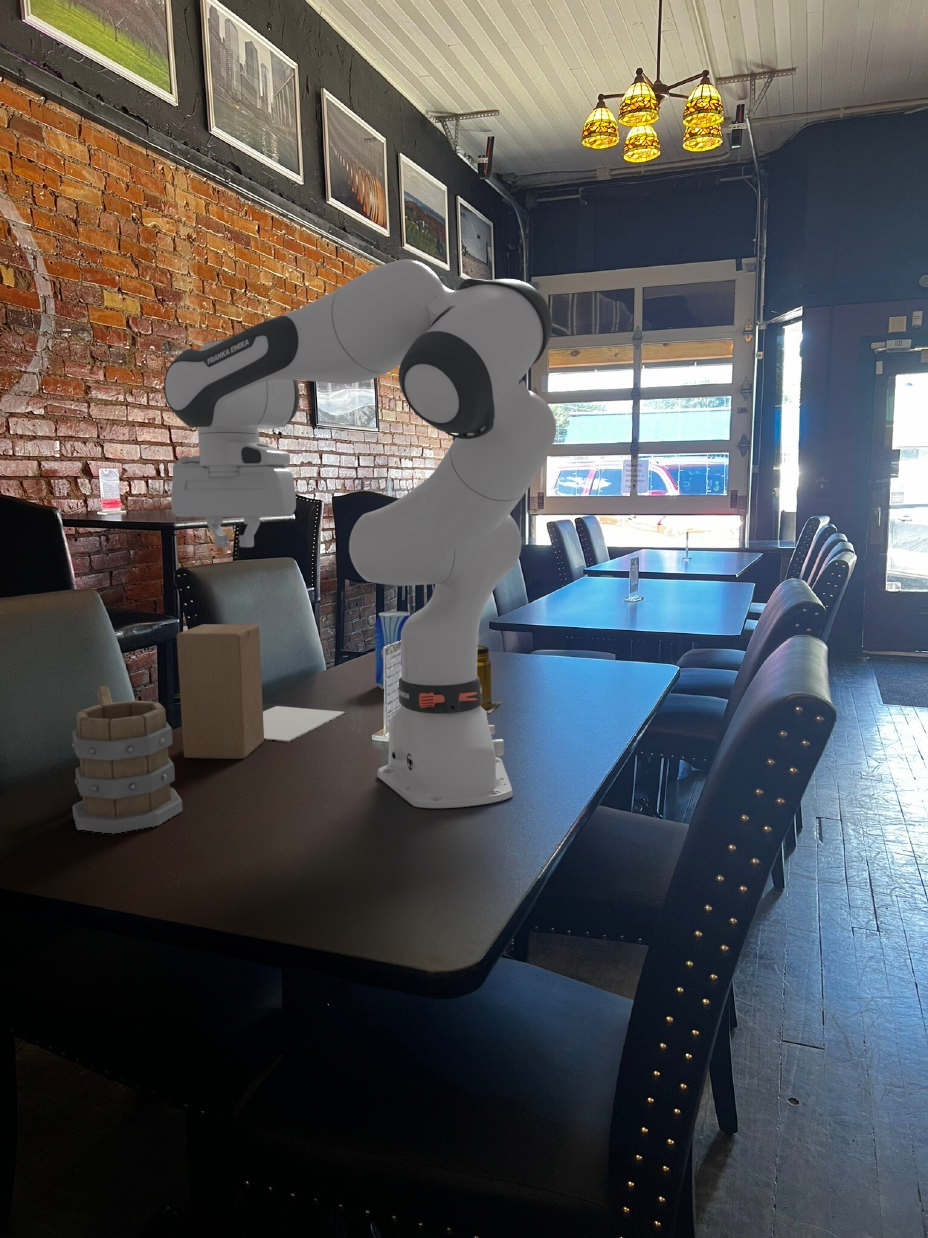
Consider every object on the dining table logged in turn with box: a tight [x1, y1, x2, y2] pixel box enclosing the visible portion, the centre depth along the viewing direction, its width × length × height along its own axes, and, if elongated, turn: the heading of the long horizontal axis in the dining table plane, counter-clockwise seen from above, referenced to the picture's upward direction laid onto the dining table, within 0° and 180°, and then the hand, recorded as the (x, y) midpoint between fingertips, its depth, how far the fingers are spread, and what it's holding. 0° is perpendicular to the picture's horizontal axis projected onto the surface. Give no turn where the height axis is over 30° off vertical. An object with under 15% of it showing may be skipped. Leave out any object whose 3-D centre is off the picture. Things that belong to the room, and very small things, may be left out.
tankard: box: [71, 685, 184, 835], centre depth 113 cm, size 20×13×15 cm, turn 30°
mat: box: [263, 705, 346, 743], centre depth 154 cm, size 20×15×1 cm
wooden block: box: [176, 623, 265, 760], centre depth 137 cm, size 10×10×20 cm
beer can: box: [374, 610, 411, 691], centre depth 182 cm, size 8×8×16 cm
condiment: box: [477, 645, 502, 714], centre depth 164 cm, size 7×8×12 cm
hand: (234, 546), depth 130 cm, fingers open, 3 cm apart
